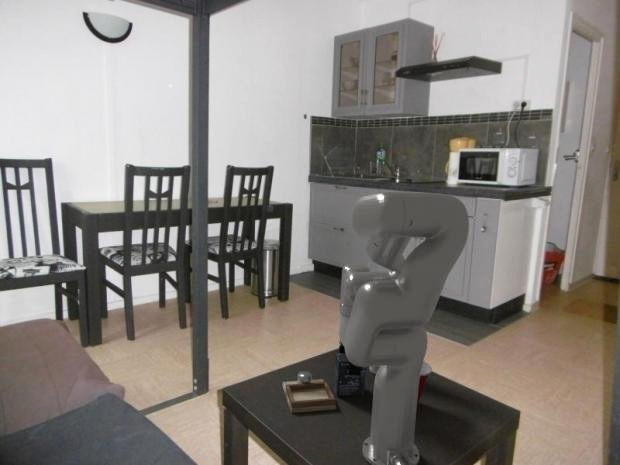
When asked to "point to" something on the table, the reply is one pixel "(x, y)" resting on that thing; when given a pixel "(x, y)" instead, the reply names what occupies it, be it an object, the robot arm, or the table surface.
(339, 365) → the box
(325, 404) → the plate
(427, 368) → the plastic cup
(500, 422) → the table surface
